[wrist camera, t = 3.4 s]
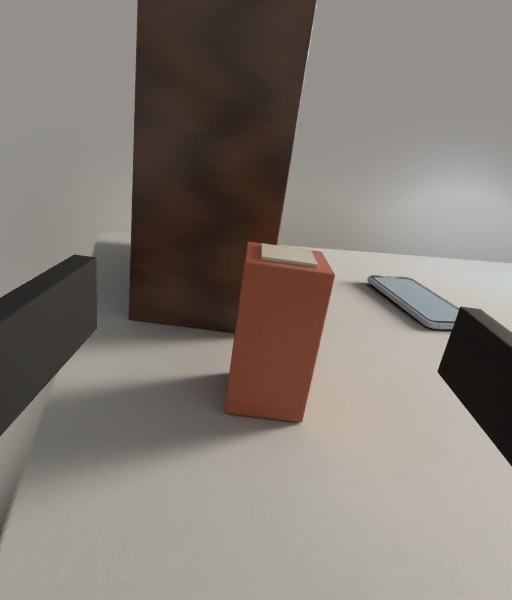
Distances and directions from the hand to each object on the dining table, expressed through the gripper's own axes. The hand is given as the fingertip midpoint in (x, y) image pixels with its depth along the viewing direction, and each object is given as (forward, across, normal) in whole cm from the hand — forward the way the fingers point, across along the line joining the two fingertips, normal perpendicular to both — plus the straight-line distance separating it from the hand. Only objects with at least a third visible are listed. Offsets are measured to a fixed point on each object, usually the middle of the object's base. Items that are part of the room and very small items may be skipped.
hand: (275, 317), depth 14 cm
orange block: (+10, +1, -10) cm, 14 cm away
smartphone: (+34, +21, -10) cm, 41 cm away
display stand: (+32, -5, -10) cm, 34 cm away
